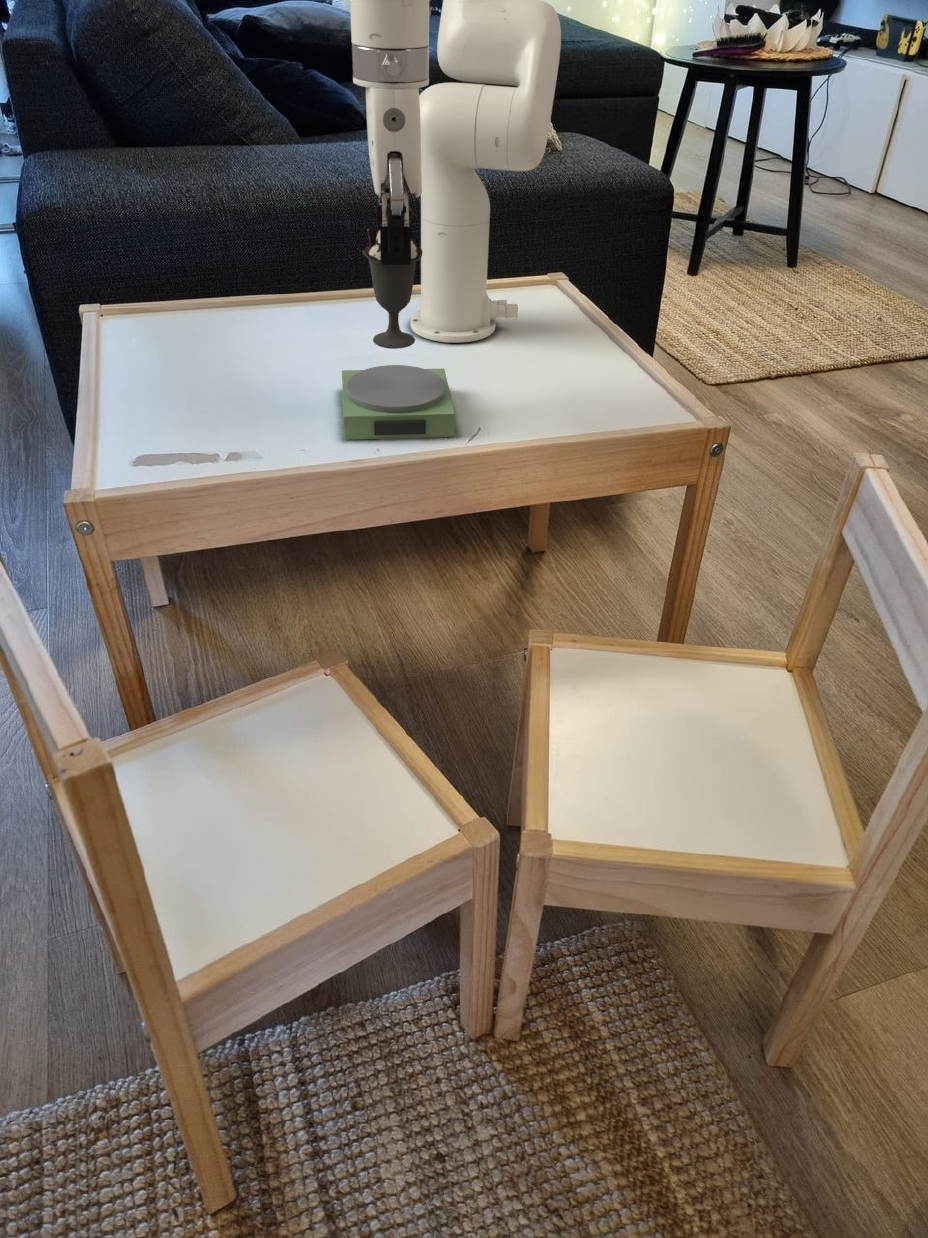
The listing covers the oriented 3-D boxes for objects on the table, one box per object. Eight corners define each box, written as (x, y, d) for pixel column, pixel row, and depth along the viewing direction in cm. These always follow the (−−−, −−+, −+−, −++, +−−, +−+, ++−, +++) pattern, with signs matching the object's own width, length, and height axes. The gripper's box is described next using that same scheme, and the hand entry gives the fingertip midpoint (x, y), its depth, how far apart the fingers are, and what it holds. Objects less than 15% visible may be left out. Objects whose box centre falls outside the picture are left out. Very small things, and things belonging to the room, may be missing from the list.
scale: (443, 390, 119) (444, 362, 117) (455, 438, 109) (456, 409, 106) (343, 392, 118) (341, 364, 115) (344, 441, 107) (343, 411, 105)
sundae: (429, 348, 106) (430, 211, 97) (372, 353, 104) (367, 214, 95) (415, 328, 111) (414, 195, 102) (360, 332, 109) (355, 197, 100)
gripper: (437, 81, 84) (435, 279, 95) (421, 54, 98) (421, 230, 109) (354, 80, 83) (362, 279, 94) (350, 53, 97) (357, 230, 108)
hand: (393, 251), depth 101 cm, fingers closed on sundae, 6 cm apart
